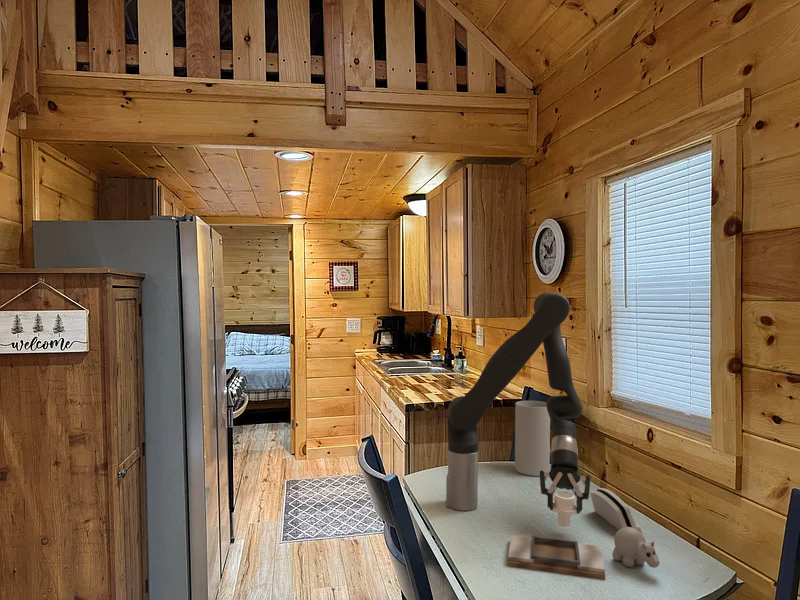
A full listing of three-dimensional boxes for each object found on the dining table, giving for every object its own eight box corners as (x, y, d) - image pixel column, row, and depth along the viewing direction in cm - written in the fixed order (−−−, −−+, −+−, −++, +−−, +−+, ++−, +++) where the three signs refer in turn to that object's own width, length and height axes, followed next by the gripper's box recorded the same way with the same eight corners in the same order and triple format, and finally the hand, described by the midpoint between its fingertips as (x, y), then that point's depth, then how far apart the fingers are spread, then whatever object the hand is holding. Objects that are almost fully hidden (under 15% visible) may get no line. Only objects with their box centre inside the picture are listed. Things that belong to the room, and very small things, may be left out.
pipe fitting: (582, 527, 145) (583, 498, 144) (559, 530, 143) (560, 500, 142) (568, 518, 151) (569, 489, 151) (546, 520, 149) (546, 492, 148)
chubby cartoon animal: (644, 582, 122) (645, 545, 122) (607, 558, 133) (607, 524, 133) (669, 577, 124) (669, 540, 124) (630, 553, 136) (630, 520, 135)
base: (507, 565, 129) (507, 555, 129) (511, 540, 142) (511, 530, 142) (605, 579, 123) (605, 568, 123) (599, 551, 137) (599, 541, 136)
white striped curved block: (643, 534, 147) (632, 500, 146) (628, 541, 146) (617, 507, 145) (609, 510, 163) (600, 480, 162) (596, 516, 162) (586, 486, 162)
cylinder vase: (552, 468, 202) (552, 402, 202) (546, 478, 191) (547, 408, 191) (518, 464, 207) (519, 399, 207) (511, 473, 196) (512, 405, 196)
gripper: (539, 445, 155) (537, 501, 144) (591, 450, 152) (594, 508, 140) (538, 458, 161) (537, 513, 149) (589, 463, 157) (591, 520, 146)
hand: (564, 510), depth 145 cm, fingers closed on pipe fitting, 6 cm apart
